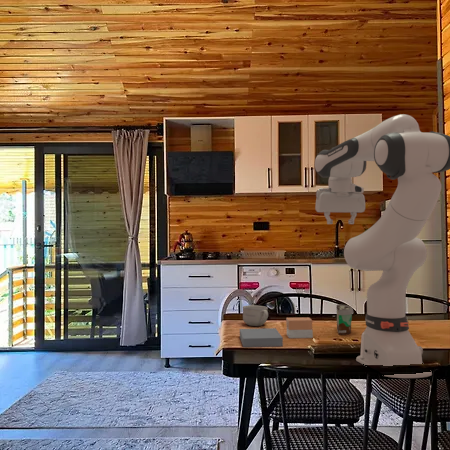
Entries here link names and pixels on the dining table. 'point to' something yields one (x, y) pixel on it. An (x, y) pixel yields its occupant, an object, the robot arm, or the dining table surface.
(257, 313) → the teacup
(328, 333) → the dining table surface
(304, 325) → the housing cover
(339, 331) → the food container
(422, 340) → the dining table surface
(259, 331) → the stand
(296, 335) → the housing base
